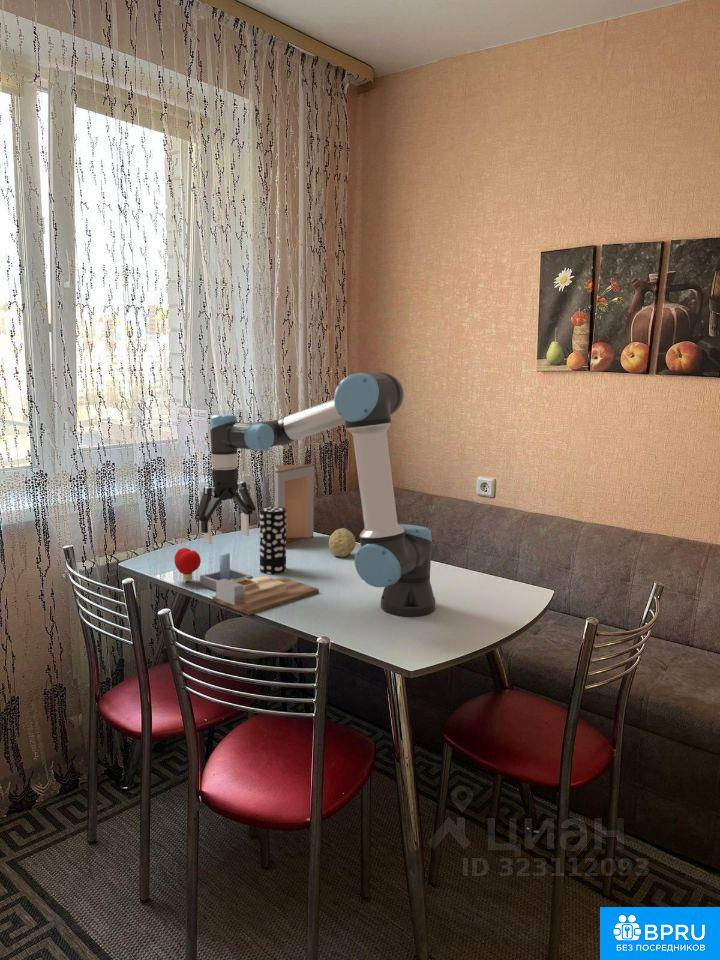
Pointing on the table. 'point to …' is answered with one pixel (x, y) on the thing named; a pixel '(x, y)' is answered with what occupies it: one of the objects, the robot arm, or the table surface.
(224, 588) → the block
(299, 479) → the cabinet
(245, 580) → the wooden block with recess
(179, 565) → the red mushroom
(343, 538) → the coral
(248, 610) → the board
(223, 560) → the dowel
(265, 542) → the spotted tube
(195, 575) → the table surface
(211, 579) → the tray
